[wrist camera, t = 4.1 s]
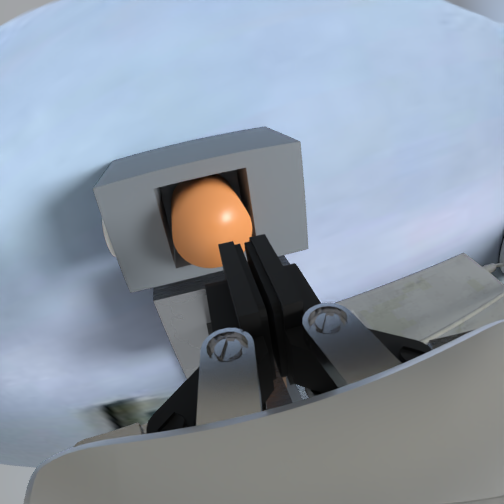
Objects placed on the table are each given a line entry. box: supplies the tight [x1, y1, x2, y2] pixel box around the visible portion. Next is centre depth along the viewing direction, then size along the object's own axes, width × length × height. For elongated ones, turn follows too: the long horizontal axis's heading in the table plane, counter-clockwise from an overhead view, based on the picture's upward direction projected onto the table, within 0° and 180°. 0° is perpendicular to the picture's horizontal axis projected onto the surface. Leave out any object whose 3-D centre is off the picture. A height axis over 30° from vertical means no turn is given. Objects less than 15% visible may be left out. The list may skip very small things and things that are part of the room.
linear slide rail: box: [93, 127, 308, 403], centre depth 24 cm, size 10×29×6 cm, turn 8°
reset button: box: [171, 174, 252, 268], centre depth 16 cm, size 4×4×4 cm
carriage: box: [153, 255, 293, 410], centre depth 18 cm, size 8×8×10 cm
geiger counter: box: [336, 253, 504, 344], centre depth 25 cm, size 14×6×25 cm
